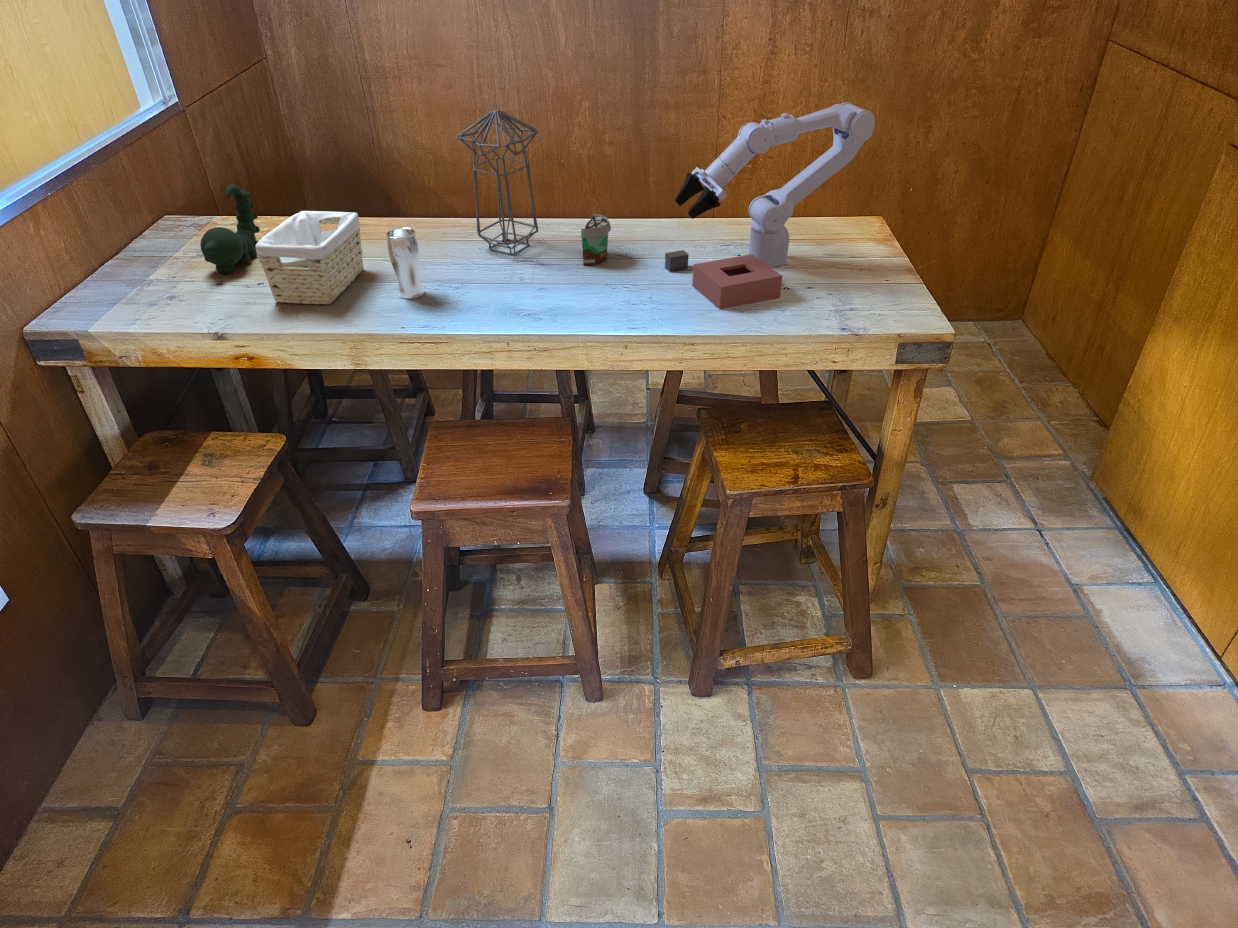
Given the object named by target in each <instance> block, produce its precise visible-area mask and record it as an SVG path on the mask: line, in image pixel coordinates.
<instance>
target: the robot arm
mask: <svg viewBox="0 0 1238 928" xmlns="http://www.w3.org/2000/svg"><path fill="white" fill-rule="evenodd" d="M875 123H876V119H875V116H874V114H873V113H872V112H871V111H870V110H867V109H864V108H861V107H859V106H856V105H855V104H853V103H852V102H850V101H849V102H848V101H845V102H842V103H836V104H833V105H831V106H830V107H827V108H824V109H821V110H818V111H814V112H811V113H809V114H804V115H803V116H800V117H797V118H796V117H795V116H793V114H788V113H786V112H784V113H781V114H780V116H779V117H776V118H772V119H769V120H767V118H766V119H765V118H764V119H762V120H761V122H760V123H758V122H756V121H750V122H747V123H746V124H743V125H741V127H740V128H739V131H738V133H737V137H736V138H735V139H734V140H733V141H732V142H731V144H729V145H728V146H727V147H726V149H725V150H724V151H723V152H721V154H720V155H718V157H717V158H716V159H715V160H713V162H712V163H710V165H709V166H708V167H707V168H706V169H705V170H704V169H703V168H701V169H700V168H699V167H697V166H696V167H695V169H693V170H692V171H691V172H689V171H688V172H687V173H686V175H685V179H684V182H683V184H682V186H681V189H680V190H679V192H678V193H677V195H675V198H674V202H675V203H676V204H677V205H678V206H679V207H681V206H683V205H684V204H685V203H686V202H688V201H689V200H690V199H691V198H692V197H694V196H695V195H697V194H699V193H700V192H701V194H700V195H699V196H698V198H697V199H696V201H695V202H694V203H693V204H692V205H691V206H690V207H689V209H688V211H687V215H688V216H689V217H690V218H691V219H693V220H694V219H695V218H697V217H698V216H700V215H703V214H704V213H706V212H707V211H708V212H709V210H713V209H715V208H719V207H720V206H721V203H720V202H723V201H724V200H725V198H726V197H727V196H728V194H727V192H726V191H725V190H724V189H723V187H725V185H727V184H728V183H729V181H731V179H733V178H734V177H735V176H736V175H737V173H738V172H740V171H741V170H742V169H743V168H744V167H745V166H746V165H747V164H748V163H749V162H750V161H751V160H752V159H753V157H755V156H756V154H765V153H766V152H767V151H768V150H769V149H770V148H771V147H774V146H778V145H782V144H786V143H788V142H793V141H795V140H796V139H797V138H798V136H799V135H800V134H803V133H806V132H812V131H816V130H821V129H826V128H827V129H828V128H832V136H833V142H832V146H831V147H830V148H829V149H827V150H826V151H825V152H824V153H822V155H820V156H818V158H817V159H815V160H814V161H812V163H810V164H809V165H807V167H806V168H804V169H803V170H802V171H801V172H799V173H798V174H797V175H795V176H794V177H793V178H791V180H789V181H788V182H787V183H785V184H784V185H783V186H782V187H781V188H777V189H772V190H769V191H767V193H765V194H762V195H759V196H757V197H755V198H753V199H752V201H751V202H750V204H749V206H748V215H749V217H750V219H751V227H750V235H749V236H750V237H749V244H748V254H747V255H750V254H752V255H754V256H755V257H757V258H758V259H759V260H761V261H762V262H764V263H765V264H767V265H768V266H769V267H771V268H774V267H778V266H784V265H788V264H789V261H788V259H787V258H788V252H789V245H790V233H789V230H788V229H787V227H786V226H785V224H786V223H787V221H788V220H789V219H790V218H791V217H792V216H793V215H794V207H795V206H796V205H798V204H799V203H800V202H801V201H802V200H804V199H805V198H806V197H807V196H808V195H810V194H811V193H813V192H814V191H815V190H816V189H818V188H820V186H821V185H823V184H824V183H826V181H828V180H829V179H830V178H832V176H834V175H835V174H836V173H838V172H839V171H840V170H841V169H843V168H844V167H845V166H846V165H848V164H849V163H850V162H851V161H853V159H854V158H855V157H856V155H857V154H858V152H859V151H860V149H861V148H862V146H863V145H864V142H866V141H867V140H868V139H870V138H871V137H873V133H874V128H875ZM719 201H720V202H719Z"/></svg>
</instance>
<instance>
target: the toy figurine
mask: <svg viewBox="0 0 1238 928" xmlns="http://www.w3.org/2000/svg"><path fill="white" fill-rule="evenodd" d="M231 195H233V199H234V200H235V202H234V209H235V210H236V214H235V218H236V220H237V223H236V231H233V230H231V229H229V228H226V227H221V226H218V227H212V228H209V229H208V230H207V231H205V233H204V234H202V237H201V239H200V244H199V245H200V250H201V251H200V252H201V253H202V255H203V257H204V260H205V262H207V263H211V264H212V265H215V270H216V271H217V272H218V273H219V274H221V275H230V274H232V273H234V271H235V266H234V265H235V264H236V263H238V262H239V261H240V262H242V263H244V264H248V263H249V262H250V261H251V257H252V259H254V257H255V258H256V257H258V255H257V252H256V247H255V246H256V244H257V243H258V242H259V241H260V240H257V239H256V235H255V234H256V233H259V232H260V230H261V229H260V227H259V226H257V225H256V224H255V222H254V221H255V220H257V219H258V214H257V213H253V212H252V209H253V208H254V207H255V203H254V202H252V201H249V198H251V196H252V195H251V193H250V192H247V191H246V190H244V189H241V188H240V186H238V185H236V184H234V183H233V184H232V183H231V184H228V185H227V186H226V188H225V196H226V197H227V198H228V199H229V198H231Z"/></svg>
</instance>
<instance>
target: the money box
mask: <svg viewBox="0 0 1238 928" xmlns="http://www.w3.org/2000/svg"><path fill="white" fill-rule="evenodd" d="M782 281H783V275H782V274H781V273H780V272H778V271H776V270H775V269H773V267H769V266H768V265H767V264H765V263H764V262H762V261H761V260H759V259H758V258H757V257H755V256H754V255H752V254H750V255H748V254H745V255H740V256H733V257H728V258H723V259H716V260H711V261H706V262H700V263H699V262H698V263H694V264H693V267H692V285H691V286H692V287H693V288H694V289H695V290H696V291H698V292H699V293H700V294H701V295H702V296H703V297H704V298H706V299H707V300H708V301H709V302H710V303H712V304H713V306H715V307H716V308H717V309H718V310H722V309H729V308H733V307H734V308H735V307H738V306H739V307H740V306H744V305H749V304H754V303H760V302H765V301H770V300H774V299H779V298H780V296H781V289H782Z"/></svg>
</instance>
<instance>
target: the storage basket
mask: <svg viewBox="0 0 1238 928" xmlns="http://www.w3.org/2000/svg"><path fill="white" fill-rule="evenodd" d="M321 224H323V225H327V224H329V225H337V227H336V228H333V229H330V230H326V231H322V226H321ZM258 241H259V242H258V243H257V244H256V246H255V247H256V248H255V251H256V252H257V257H258V260H259V263H260V264H261V268H262V269H263V271H264V274H265V277H266V280H267V282H268V286H269V288H270V291H271V295H272V297H273V298H272V299H273V300H274V301H275V302H278V303H287V304H304V305H312V304H313V305H330V304H332V303H333V302H334V301H335V300H336V299H337V298H338V297H339V296H340V294H342V293H343V292H344V291H345V290H346V289H347V287H348V286H349V285H351V284H352V283H351V282H354V281H355V279H356V278H357V276H358V275H360V274H361V273H362V271H363V270H364V261H363V248H362V239H361V222H360V219H359V214H358V213H357V212H347V211H346V212H345V211H323V210H322V211H321V210H317V211H316V210H300V211H299V212H298V213H295V214H293V215H291V216H290V217H288V218H287V219H285V220H284V221H283V222H281V223H280V224H279V225H277V226H276V227H275V228H273V229H272V230H270V231H269V232H267V233H266V234H265V235H263V237H261V239H259V240H258Z"/></svg>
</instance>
